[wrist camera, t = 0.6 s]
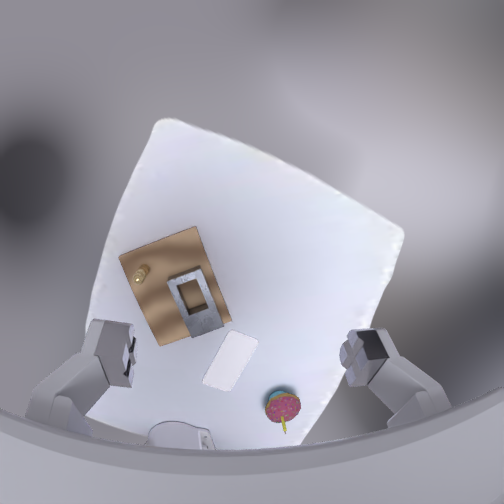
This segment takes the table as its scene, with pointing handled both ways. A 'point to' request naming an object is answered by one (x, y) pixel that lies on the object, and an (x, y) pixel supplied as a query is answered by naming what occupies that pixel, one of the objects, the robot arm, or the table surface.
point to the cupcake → (282, 407)
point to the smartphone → (230, 360)
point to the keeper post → (141, 274)
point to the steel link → (202, 315)
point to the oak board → (157, 290)
